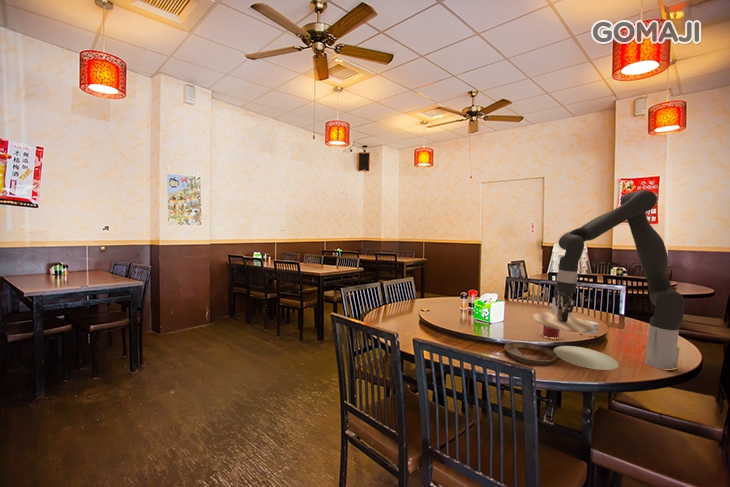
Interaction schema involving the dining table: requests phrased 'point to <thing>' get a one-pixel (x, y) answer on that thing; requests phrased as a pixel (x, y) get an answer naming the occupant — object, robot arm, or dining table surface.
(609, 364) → the disc
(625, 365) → the dining table surface
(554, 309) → the skincare box
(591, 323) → the skincare box
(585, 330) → the lid
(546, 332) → the soda can
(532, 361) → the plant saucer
